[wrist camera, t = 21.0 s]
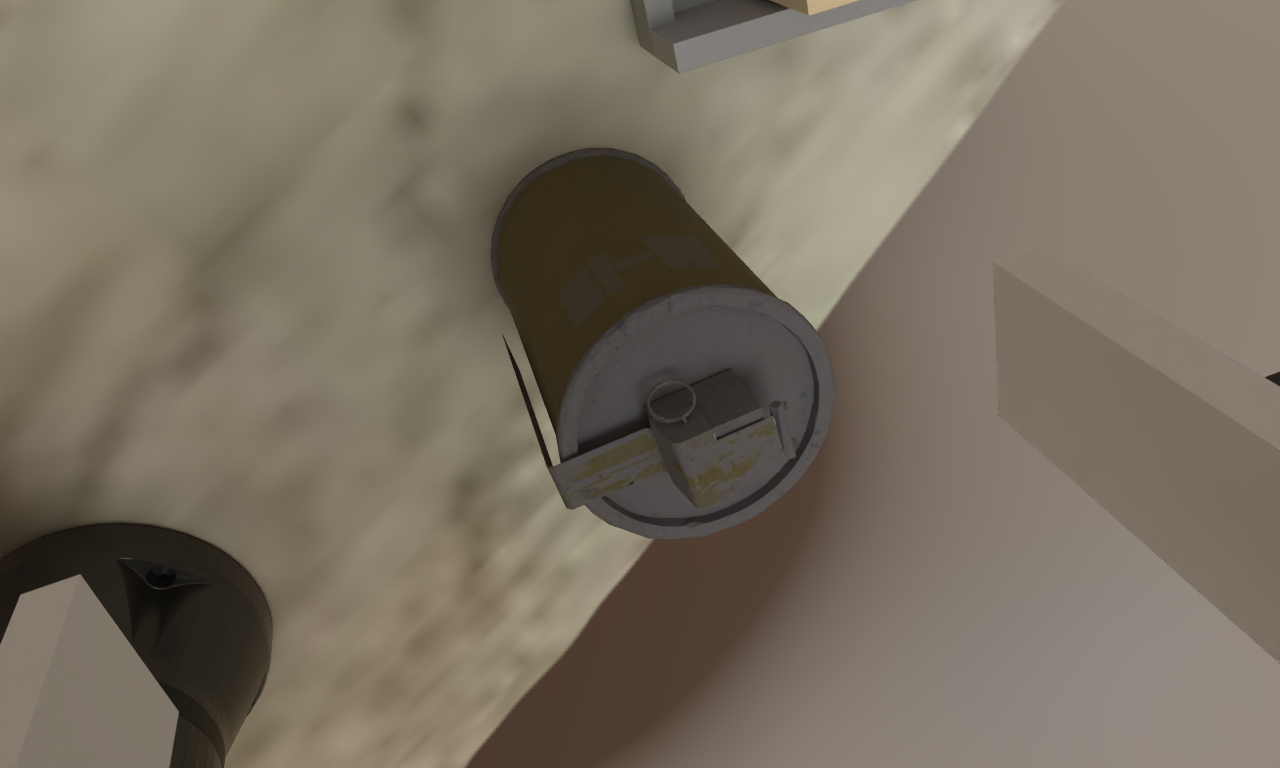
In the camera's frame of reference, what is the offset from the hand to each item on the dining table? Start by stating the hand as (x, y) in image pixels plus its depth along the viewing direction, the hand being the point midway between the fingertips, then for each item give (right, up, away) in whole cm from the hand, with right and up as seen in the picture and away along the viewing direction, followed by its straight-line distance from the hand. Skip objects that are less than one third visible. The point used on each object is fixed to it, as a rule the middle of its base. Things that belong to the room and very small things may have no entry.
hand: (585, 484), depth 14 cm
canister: (-2, +8, +36) cm, 37 cm away
